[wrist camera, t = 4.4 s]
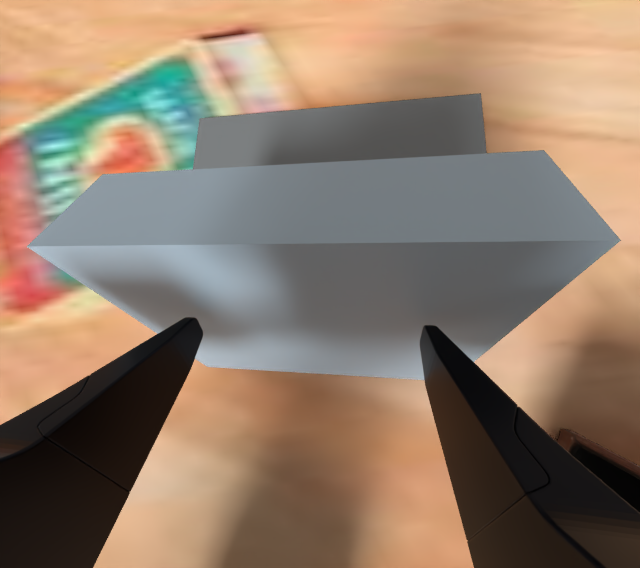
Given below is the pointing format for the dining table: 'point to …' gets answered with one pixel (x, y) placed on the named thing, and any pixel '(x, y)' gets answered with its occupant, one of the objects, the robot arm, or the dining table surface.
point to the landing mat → (344, 133)
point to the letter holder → (605, 466)
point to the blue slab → (333, 255)
